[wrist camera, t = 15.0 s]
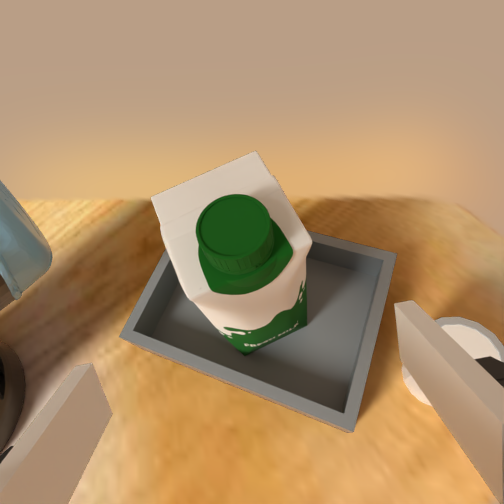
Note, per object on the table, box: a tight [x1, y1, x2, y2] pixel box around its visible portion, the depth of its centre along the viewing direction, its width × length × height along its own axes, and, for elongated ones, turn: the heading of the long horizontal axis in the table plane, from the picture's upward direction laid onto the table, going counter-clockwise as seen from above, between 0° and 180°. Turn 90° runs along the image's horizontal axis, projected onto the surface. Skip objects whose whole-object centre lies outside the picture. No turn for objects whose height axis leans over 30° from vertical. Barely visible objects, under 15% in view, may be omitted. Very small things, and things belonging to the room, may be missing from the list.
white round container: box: [402, 317, 504, 406], centre depth 30 cm, size 7×7×7 cm
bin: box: [119, 231, 397, 433], centre depth 36 cm, size 22×16×5 cm
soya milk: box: [151, 151, 312, 356], centre depth 28 cm, size 9×9×20 cm
